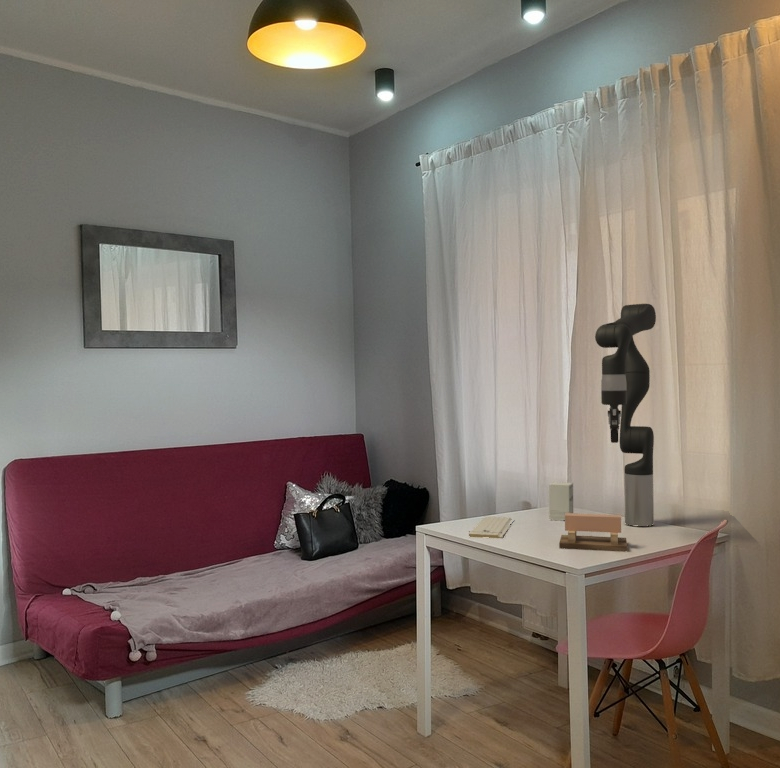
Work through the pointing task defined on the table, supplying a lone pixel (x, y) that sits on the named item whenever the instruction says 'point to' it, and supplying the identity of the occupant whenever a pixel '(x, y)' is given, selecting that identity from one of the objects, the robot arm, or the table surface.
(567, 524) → the clay bar
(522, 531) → the table surface
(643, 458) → the robot arm
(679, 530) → the table surface
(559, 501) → the supplement box
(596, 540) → the cleated wooden board
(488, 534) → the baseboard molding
